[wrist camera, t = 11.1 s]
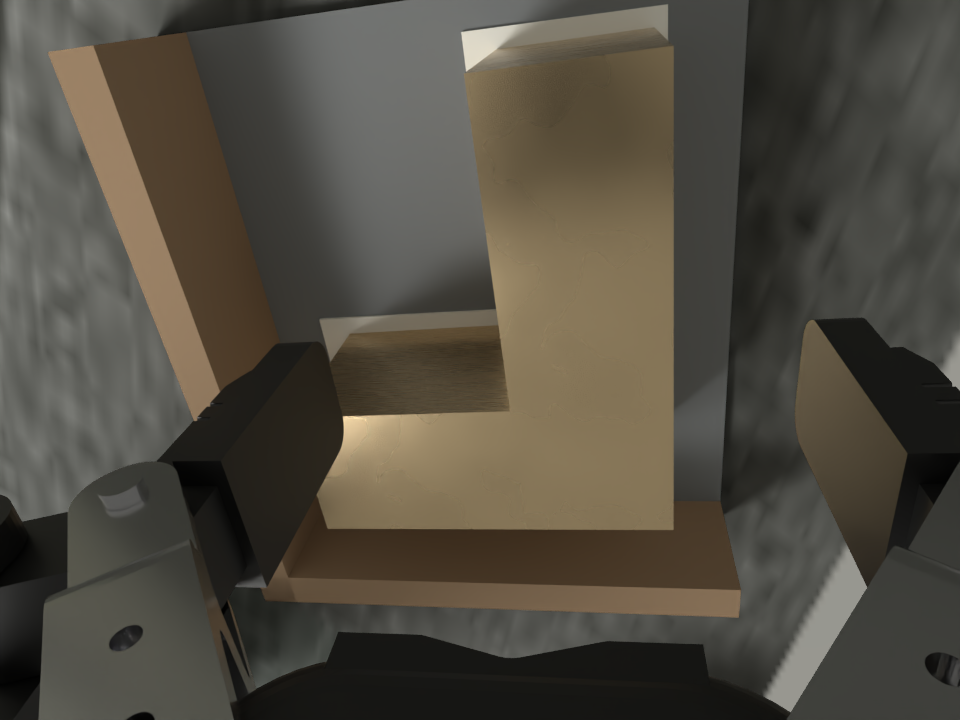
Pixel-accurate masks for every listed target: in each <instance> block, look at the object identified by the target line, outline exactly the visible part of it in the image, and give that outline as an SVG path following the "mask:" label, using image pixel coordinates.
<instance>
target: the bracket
mask: <svg viewBox="0 0 960 720" xmlns="http://www.w3.org/2000/svg"><path fill="white" fill-rule="evenodd" d="M464 79H465V86H466V94H467V101H468V108H469V115H470V123H471V130H472V137H473V144H474V152H475V159H476V166H477V173H478V181H479V188H480V195H481V202H482V210H483V217H484V224H485V231H486V239H487V246H488V253H489V260H490V268H491V275H492V282H493V289H494V297H495V304H496V311H497V318H498V325H493V326H475V327H457V328H440V329H422V330H404V331H387V332H369V333H351V334H349V336H348V337H347V339H346V340H345V341H344V343H343V344H342V346H341V347H340V349H339V350H338V352H337V353H336V355H335V356H334V357H333V359H332V360H331V362H330V363H329V364H330V368H331V372H332V376H333V380H334V384H335V388H336V392H337V396H338V400H339V404H340V408H341V412H342V416H343V423H344V436H343V443H342V447H341V450H340V452H339V454H338V456H337V457H336V459H335V461H334V463H333V465H332V467H331V469H330V471H329V472H328V474H327V476H326V478H325V480H324V482H323V484H322V486H321V487H320V489H319V491H318V493H317V497H318V500H319V503H320V507H321V510H322V513H323V516H324V519H325V522H326V525H327V528H328V529H534V530H674V46H673V45H672V44H671V43H670V42H669V41H668V40H667V39H666V38H665V37H664V36H663V35H662V34H661V33H660V32H659V31H658V30H657V29H656V28H655V27H653V28H645V29H638V30H631V31H624V32H617V33H609V34H602V35H595V36H588V37H581V38H573V39H566V40H559V41H552V42H545V43H537V44H530V45H523V46H516V47H509V48H501V49H496V50H495V51H493V52H492V53H491V54H489V55H488V56H487V57H485V58H484V59H483V60H481V61H480V62H479V63H477V64H476V65H475V66H473V67H472V68H471V69H469V70H468V71H467V72H465V73H464Z"/></svg>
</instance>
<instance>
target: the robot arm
mask: <svg viewBox="0 0 960 720" xmlns="http://www.w3.org/2000/svg"><path fill="white" fill-rule="evenodd" d="M795 425H796V432H797V437H798V441H799V444H800V446H801V448H802V451H803V453H804V455H805V457H806V459H807V461H808V463H809V465H810V467H811V470H812V472H813V474H814V476H815V478H816V480H817V482H818V484H819V486H820V489H821V491H822V493H823V495H824V497H825V499H826V501H827V503H828V505H829V508H830V510H831V512H832V514H833V516H834V518H835V520H836V522H837V524H838V526H839V529H840V531H841V533H842V535H843V537H844V539H845V541H846V543H847V545H848V548H849V550H850V552H851V554H852V556H853V558H854V560H855V562H856V564H857V567H858V568H859V571H860V573H861V575H862V577H863V579H864V581H865V583H866V586H867V589H866V591H865V592H864V594H863V595H862V597H861V599H860V601H859V602H858V604H857V605H856V607H855V609H854V610H853V612H852V613H851V615H850V617H849V618H848V620H847V622H846V623H845V625H844V627H843V628H842V630H841V631H840V633H839V635H838V636H837V638H836V640H835V641H834V643H833V644H832V646H831V648H830V650H829V651H828V653H827V654H826V656H825V658H824V659H823V661H822V662H821V664H820V666H819V667H818V669H817V671H816V672H815V674H814V676H813V677H812V679H811V681H810V682H809V684H808V685H807V687H806V689H805V690H804V692H803V694H802V695H801V697H800V698H799V700H798V702H797V703H796V705H795V707H794V708H793V710H792V711H791V712H789V711H787V710H786V709H784V708H783V707H781V706H779V705H778V704H776V703H774V702H773V701H771V700H769V699H767V698H765V697H763V696H760V695H758V694H756V693H754V692H752V691H750V690H748V689H745V688H743V687H740V686H738V685H735V684H732V683H730V682H727V681H724V680H720V679H717V678H713V677H710V676H708V670H707V665H706V659H705V654H704V648H703V645H700V644H671V643H641V642H612V641H606V642H600V643H595V644H590V645H584V646H579V647H574V648H568V649H563V650H558V651H553V652H547V653H542V654H537V655H531V656H526V657H521V658H503V657H498V656H495V655H491V654H488V653H484V652H481V651H477V650H473V649H470V648H466V647H463V646H459V645H456V644H452V643H448V642H445V641H441V640H438V639H434V638H431V637H427V636H423V635H407V634H378V633H349V632H338V634H337V637H336V640H335V642H334V645H333V647H332V650H331V653H330V655H329V658H328V660H327V662H323V663H318V664H314V665H311V666H308V667H305V668H301V669H298V670H295V671H293V672H291V673H288V674H286V675H283V676H281V677H278V678H276V679H274V680H272V681H271V682H269V683H267V684H265V685H263V686H261V687H259V688H257V689H256V686H255V682H254V679H253V676H252V672H251V669H250V666H249V662H248V659H247V656H246V652H245V649H244V646H243V642H242V639H241V636H240V632H239V629H238V626H237V622H236V619H235V616H234V612H233V610H232V607H231V605H230V603H229V600H228V598H229V596H230V595H231V593H232V591H233V590H234V588H235V587H260V588H267V586H268V584H269V583H270V581H271V579H272V577H273V575H274V573H275V571H276V570H277V568H278V566H279V564H280V562H281V560H282V558H283V556H284V555H285V553H286V551H287V549H288V547H289V545H290V543H291V542H292V540H293V538H294V536H295V534H296V532H297V530H298V528H299V527H300V525H301V523H302V521H303V519H304V517H305V515H306V514H307V512H308V510H309V508H310V506H311V504H312V502H313V500H314V499H315V497H316V495H317V493H318V491H319V489H320V487H321V486H322V484H323V482H324V480H325V478H326V476H327V474H328V472H329V471H330V469H331V467H332V465H333V463H334V461H335V459H336V457H337V456H338V454H339V452H340V450H341V447H342V443H343V436H344V423H343V416H342V412H341V408H340V404H339V400H338V396H337V392H336V388H335V384H334V380H333V376H332V372H331V368H330V364H329V360H328V356H327V353H326V350H325V348H324V346H323V345H322V344H321V343H320V342H317V341H316V342H294V343H277V344H275V345H274V346H273V347H272V348H271V349H270V351H269V352H268V353H267V354H266V355H265V356H264V357H263V358H262V360H261V361H260V362H259V363H258V364H257V365H256V366H255V368H254V369H253V370H252V371H249V372H247V373H246V374H244V375H242V376H241V377H239V378H238V379H236V380H234V381H233V382H231V383H230V384H228V385H227V386H225V387H224V388H223V389H222V390H221V392H220V393H219V394H218V395H217V396H216V397H215V398H214V399H213V400H212V401H211V402H210V407H206V408H205V409H204V410H203V411H202V412H201V413H200V415H199V416H198V417H197V421H193V422H192V423H191V424H190V425H189V427H188V428H187V429H186V430H185V431H184V432H183V433H182V434H181V435H180V436H179V437H178V439H177V440H176V441H175V442H174V443H173V444H172V445H171V446H170V447H169V448H168V450H167V451H166V452H165V453H164V454H163V455H162V456H161V457H160V458H159V459H158V460H157V462H142V463H136V464H132V465H128V466H125V467H122V468H119V469H117V470H114V471H112V472H110V473H108V474H105V475H103V476H102V477H100V478H98V479H96V480H95V481H93V482H92V483H90V484H89V485H87V486H86V487H85V488H84V489H83V490H81V491H80V492H79V493H78V494H77V495H76V497H75V498H74V499H73V501H72V502H71V504H70V506H69V508H68V512H65V513H61V514H56V515H52V516H47V517H42V518H38V519H33V520H28V521H24V522H22V521H21V519H20V517H19V515H18V514H17V512H16V510H15V508H14V507H13V505H12V503H11V501H10V500H9V499H8V498H7V497H5V496H3V495H0V720H960V391H959V390H958V389H957V387H952V382H951V381H950V380H949V379H948V378H947V377H946V376H945V375H944V374H943V373H942V372H941V370H940V369H939V368H938V367H937V366H936V365H935V364H934V363H932V362H930V361H928V360H927V359H925V358H923V357H921V356H919V355H917V354H915V353H913V352H911V351H909V350H907V349H905V348H904V347H894V348H890V347H889V346H888V345H887V344H886V342H885V341H884V340H883V339H882V338H881V337H880V335H879V334H878V333H877V332H876V331H875V330H874V328H873V327H872V326H871V325H870V324H869V323H868V321H867V320H865V319H864V318H843V319H821V320H810V321H809V322H808V323H807V325H806V327H805V331H804V336H803V343H802V352H801V360H800V369H799V377H798V386H797V394H796V403H795Z"/></svg>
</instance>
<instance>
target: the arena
mask: <svg viewBox="0 0 960 720" xmlns="http://www.w3.org/2000/svg"><path fill="white" fill-rule="evenodd" d="M748 6H749V0H405V1H398V2H391V3H384V4H377V5H370V6H363V7H356V8H350V9H343V10H336V11H329V12H322V13H315V14H308V15H301V16H295V17H288V18H281V19H274V20H267V21H260V22H253V23H246V24H240V25H233V26H226V27H219V28H212V29H205V30H198V31H191V32H185V33H178V34H171V35H164V36H157V37H150V38H143V39H136V40H129V41H122V42H115V43H108V44H101V45H94V46H87V47H80V48H73V49H66V50H59V51H52V52H48V54H49V57H50V59H51V62H52V64H53V67H54V69H55V72H56V74H57V77H58V79H59V82H60V84H61V87H62V89H63V92H64V95H65V97H66V100H67V102H68V105H69V107H70V110H71V112H72V115H73V117H74V120H75V122H76V125H77V127H78V130H79V132H80V135H81V137H82V140H83V142H84V145H85V147H86V150H87V152H88V155H89V157H90V160H91V162H92V165H93V167H94V170H95V173H96V175H97V178H98V180H99V183H100V185H101V188H102V190H103V193H104V195H105V198H106V200H107V203H108V205H109V208H110V210H111V213H112V215H113V218H114V220H115V223H116V225H117V228H118V230H119V233H120V235H121V238H122V240H123V243H124V246H125V248H126V251H127V253H128V256H129V258H130V261H131V263H132V266H133V268H134V271H135V273H136V276H137V278H138V281H139V283H140V286H141V288H142V291H143V293H144V296H145V298H146V301H147V303H148V306H149V308H150V311H151V313H152V316H153V318H154V321H155V324H156V326H157V329H158V331H159V334H160V336H161V339H162V341H163V344H164V346H165V349H166V351H167V354H168V356H169V359H170V361H171V364H172V366H173V369H174V371H175V374H176V376H177V379H178V381H179V384H180V386H181V389H182V391H183V394H184V396H185V399H186V402H187V404H188V407H189V409H190V412H191V414H192V417H193V419H194V421H197V417H198V416H199V415H200V413H201V412H202V411H203V410H204V409H205V408H206V407H210V402H211V401H212V400H213V399H214V398H215V397H216V396H217V395H218V394H219V393H220V392H221V390H222V389H223V388H224V387H225V386H227V385H228V384H230V383H231V382H233V381H234V380H236V379H238V378H239V377H241V376H242V375H244V374H246V373H247V372H249V371H252V370H253V369H254V368H255V366H256V365H257V364H258V363H259V362H260V361H261V360H262V358H263V357H264V356H265V355H266V354H267V353H268V352H269V351H270V349H271V348H272V347H273V346H274V345H275V344H277V343H294V342H316V341H317V342H320V343H321V344H322V345H323V346H324V348H325V350H326V353H327V356H328V360H329V363H330V362H331V360H332V359H333V357H334V356H335V355H336V353H337V352H338V350H339V349H340V347H341V346H342V344H343V343H344V341H345V340H346V339H347V337H348V336H349V334H351V333H369V332H387V331H404V330H422V329H440V328H457V327H475V326H493V325H498V318H497V311H496V304H495V297H494V289H493V282H492V275H491V268H490V260H489V253H488V246H487V239H486V231H485V224H484V217H483V210H482V202H481V195H480V188H479V181H478V173H477V166H476V159H475V152H474V144H473V137H472V130H471V123H470V115H469V108H468V101H467V94H466V86H465V79H464V73H465V72H467V71H468V70H469V69H471V68H472V67H473V66H475V65H476V64H477V63H479V62H480V61H481V60H483V59H484V58H485V57H487V56H488V55H489V54H491V53H492V52H493V51H495V50H496V49H501V48H509V47H516V46H523V45H530V44H537V43H545V42H552V41H559V40H566V39H573V38H581V37H588V36H595V35H602V34H609V33H617V32H624V31H631V30H638V29H645V28H653V27H655V28H656V29H657V30H658V31H659V32H660V33H661V34H662V35H663V36H664V37H665V38H666V39H667V40H668V41H669V42H670V43H671V44H672V45H673V46H674V530H534V529H328V528H327V525H326V522H325V519H324V516H323V513H322V510H321V507H320V503H319V500H318V497H317V495H316V497H315V499H314V500H313V502H312V504H311V506H310V508H309V510H308V512H307V514H306V515H305V517H304V519H303V521H302V523H301V525H300V527H299V528H298V530H297V532H296V534H295V536H294V538H293V540H292V542H291V543H290V545H289V547H288V549H287V551H286V553H285V555H284V556H283V558H282V560H281V562H280V564H279V566H278V568H277V570H276V571H275V573H274V575H273V577H272V579H271V581H270V583H269V584H268V586H267V588H261V590H262V593H263V595H264V598H265V600H266V601H280V602H309V603H338V604H367V605H395V606H424V607H453V608H482V609H510V610H539V611H568V612H596V613H625V614H654V615H683V616H711V617H739V608H740V596H741V588H740V584H739V580H738V575H737V571H736V567H735V562H734V558H733V554H732V549H731V545H730V541H729V537H728V532H727V528H726V524H725V519H724V515H723V511H722V506H721V502H720V498H721V481H722V463H723V446H724V428H725V411H726V393H727V375H728V358H729V340H730V323H731V305H732V288H733V270H734V252H735V235H736V217H737V200H738V182H739V164H740V147H741V129H742V112H743V94H744V77H745V59H746V41H747V24H748Z"/></svg>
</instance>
